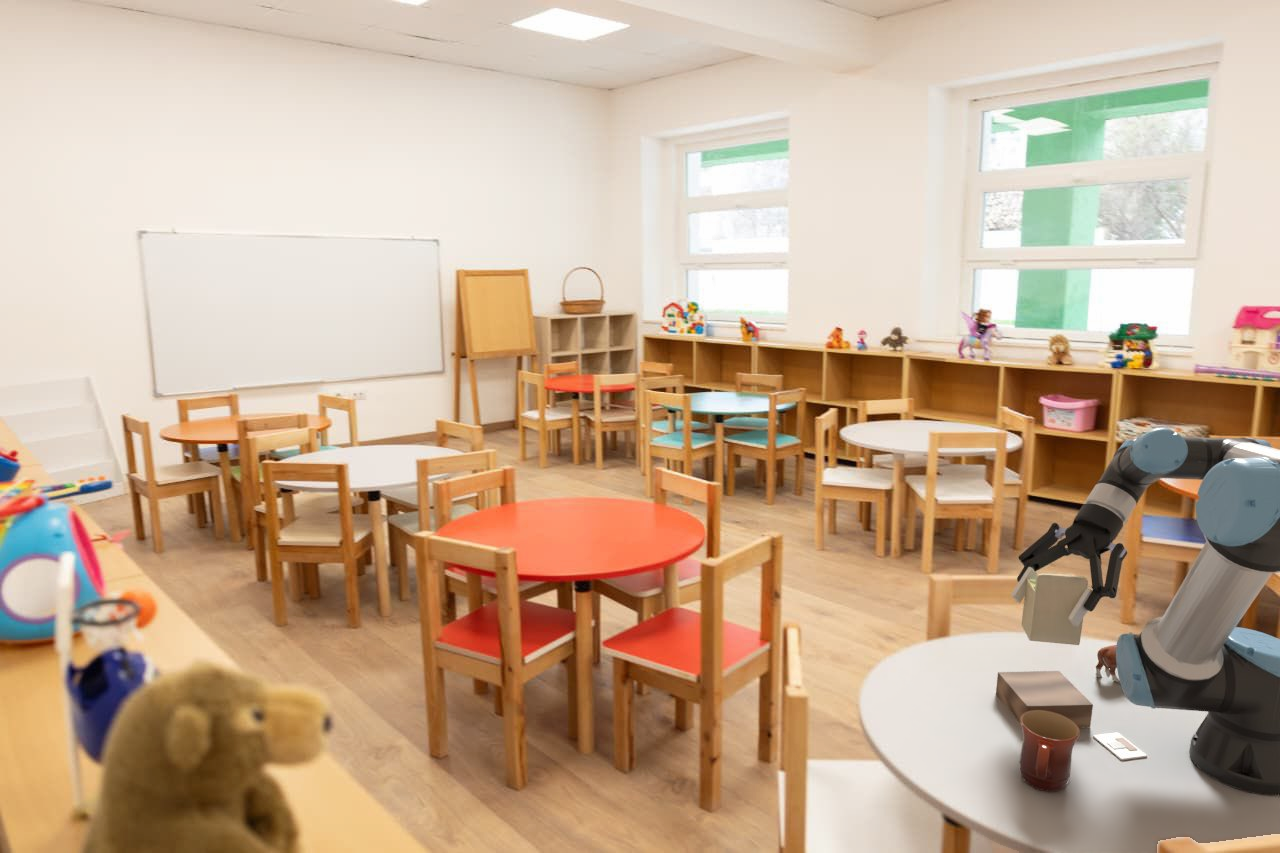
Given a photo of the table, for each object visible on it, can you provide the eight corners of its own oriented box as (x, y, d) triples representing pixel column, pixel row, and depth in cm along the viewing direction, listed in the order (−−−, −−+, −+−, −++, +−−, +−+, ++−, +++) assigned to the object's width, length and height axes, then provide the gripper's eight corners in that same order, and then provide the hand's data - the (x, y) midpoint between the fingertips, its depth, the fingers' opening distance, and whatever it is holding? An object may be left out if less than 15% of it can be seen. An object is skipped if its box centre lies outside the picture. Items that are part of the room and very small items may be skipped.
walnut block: (1089, 729, 154) (1093, 704, 153) (1024, 730, 154) (1027, 706, 153) (1056, 694, 166) (1059, 670, 165) (995, 695, 166) (997, 672, 164)
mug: (1018, 758, 145) (1024, 704, 143) (1075, 774, 141) (1082, 719, 139) (1006, 797, 135) (1012, 740, 133) (1067, 816, 131) (1074, 757, 129)
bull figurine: (1159, 677, 171) (1165, 640, 169) (1102, 685, 168) (1107, 648, 166) (1142, 667, 175) (1147, 630, 173) (1086, 674, 172) (1091, 638, 170)
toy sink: (1068, 627, 159) (1076, 562, 156) (1080, 646, 152) (1088, 577, 149) (1020, 624, 161) (1026, 559, 158) (1029, 642, 154) (1036, 574, 151)
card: (1147, 757, 145) (1147, 754, 145) (1121, 760, 145) (1121, 758, 144) (1117, 733, 152) (1117, 731, 152) (1092, 736, 151) (1093, 734, 151)
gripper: (1174, 543, 150) (1112, 646, 146) (1053, 508, 169) (996, 597, 165) (1161, 520, 146) (1097, 625, 142) (1039, 486, 166) (980, 577, 161)
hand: (1043, 610), depth 154 cm, fingers closed on toy sink, 11 cm apart
